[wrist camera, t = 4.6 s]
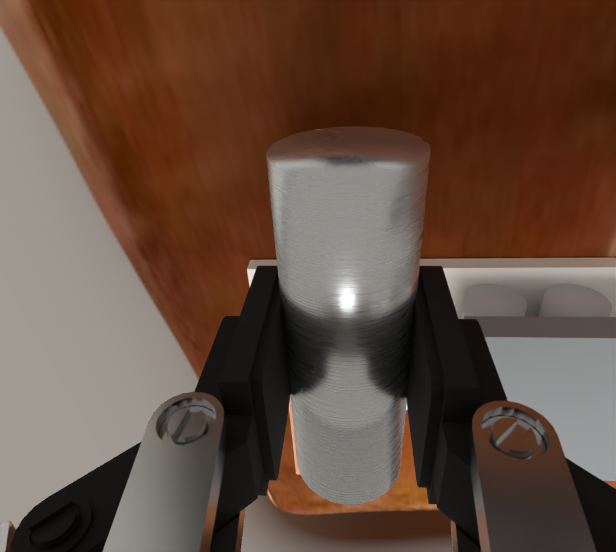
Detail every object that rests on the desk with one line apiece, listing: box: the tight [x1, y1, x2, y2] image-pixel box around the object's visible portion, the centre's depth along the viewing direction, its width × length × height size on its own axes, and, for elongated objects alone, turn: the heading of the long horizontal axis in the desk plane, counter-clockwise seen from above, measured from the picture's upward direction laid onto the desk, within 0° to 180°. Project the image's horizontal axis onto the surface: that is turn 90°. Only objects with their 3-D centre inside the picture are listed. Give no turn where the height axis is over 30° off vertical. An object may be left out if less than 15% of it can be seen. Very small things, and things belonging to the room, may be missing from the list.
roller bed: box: [247, 258, 616, 474], centre depth 25 cm, size 28×11×6 cm, turn 93°
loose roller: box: [266, 126, 431, 505], centre depth 11 cm, size 3×9×3 cm, turn 3°
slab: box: [464, 316, 616, 481], centre depth 23 cm, size 10×10×2 cm
